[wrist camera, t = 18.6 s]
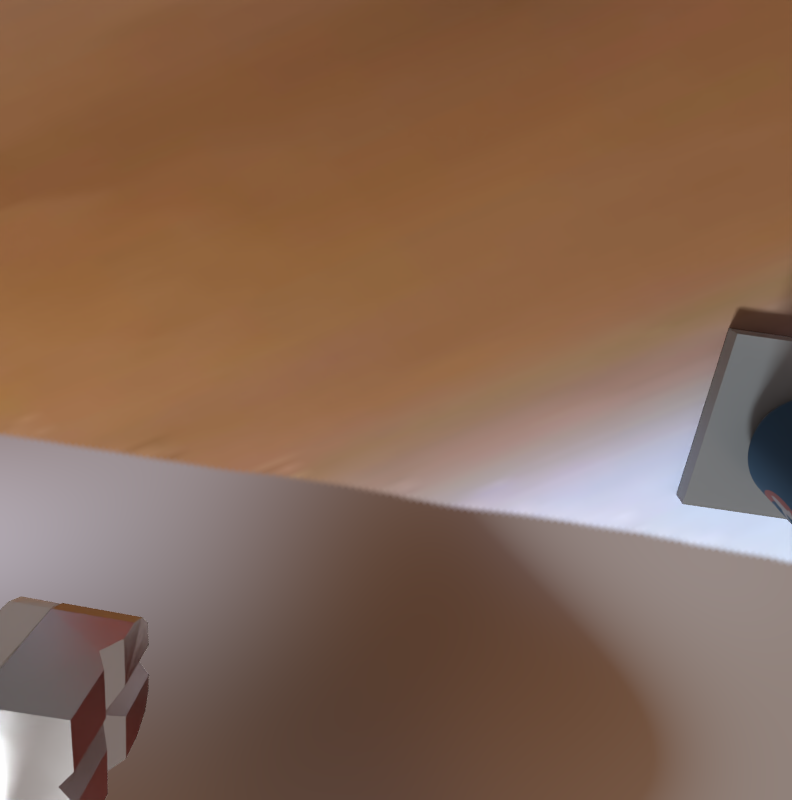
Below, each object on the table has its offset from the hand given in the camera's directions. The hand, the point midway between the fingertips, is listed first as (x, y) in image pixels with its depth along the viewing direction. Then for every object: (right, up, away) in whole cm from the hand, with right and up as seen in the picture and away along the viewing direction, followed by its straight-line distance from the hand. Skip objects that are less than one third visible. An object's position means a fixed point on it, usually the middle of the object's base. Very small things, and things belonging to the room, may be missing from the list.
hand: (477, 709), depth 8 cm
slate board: (+23, +2, +33) cm, 40 cm away
